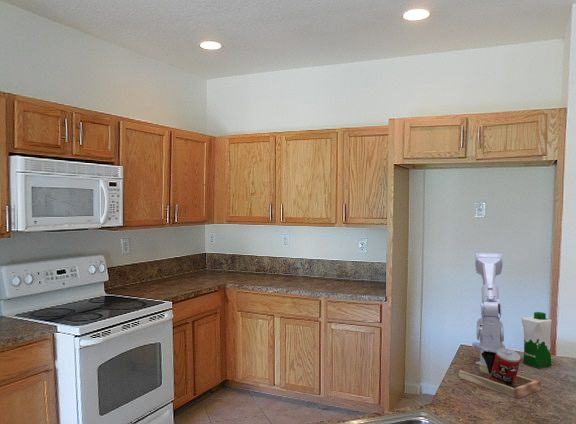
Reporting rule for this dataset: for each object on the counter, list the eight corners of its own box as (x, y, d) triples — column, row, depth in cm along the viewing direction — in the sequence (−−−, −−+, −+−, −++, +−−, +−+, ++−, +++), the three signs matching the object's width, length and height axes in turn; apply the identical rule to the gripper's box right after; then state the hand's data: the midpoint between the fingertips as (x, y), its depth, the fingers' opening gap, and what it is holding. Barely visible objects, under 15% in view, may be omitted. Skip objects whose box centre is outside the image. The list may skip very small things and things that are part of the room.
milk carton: (555, 366, 176) (554, 314, 176) (539, 369, 173) (538, 317, 173) (534, 359, 184) (533, 310, 184) (519, 363, 181) (518, 312, 181)
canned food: (487, 381, 158) (493, 353, 155) (493, 372, 164) (499, 345, 161) (510, 391, 153) (517, 363, 150) (516, 381, 159) (523, 354, 157)
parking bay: (481, 370, 173) (481, 362, 173) (541, 389, 154) (541, 380, 154) (458, 377, 166) (458, 369, 166) (518, 398, 147) (517, 389, 147)
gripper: (466, 332, 166) (467, 369, 166) (503, 341, 154) (503, 381, 154) (478, 329, 170) (479, 365, 170) (515, 338, 157) (516, 377, 157)
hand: (491, 373), depth 162 cm, fingers closed
